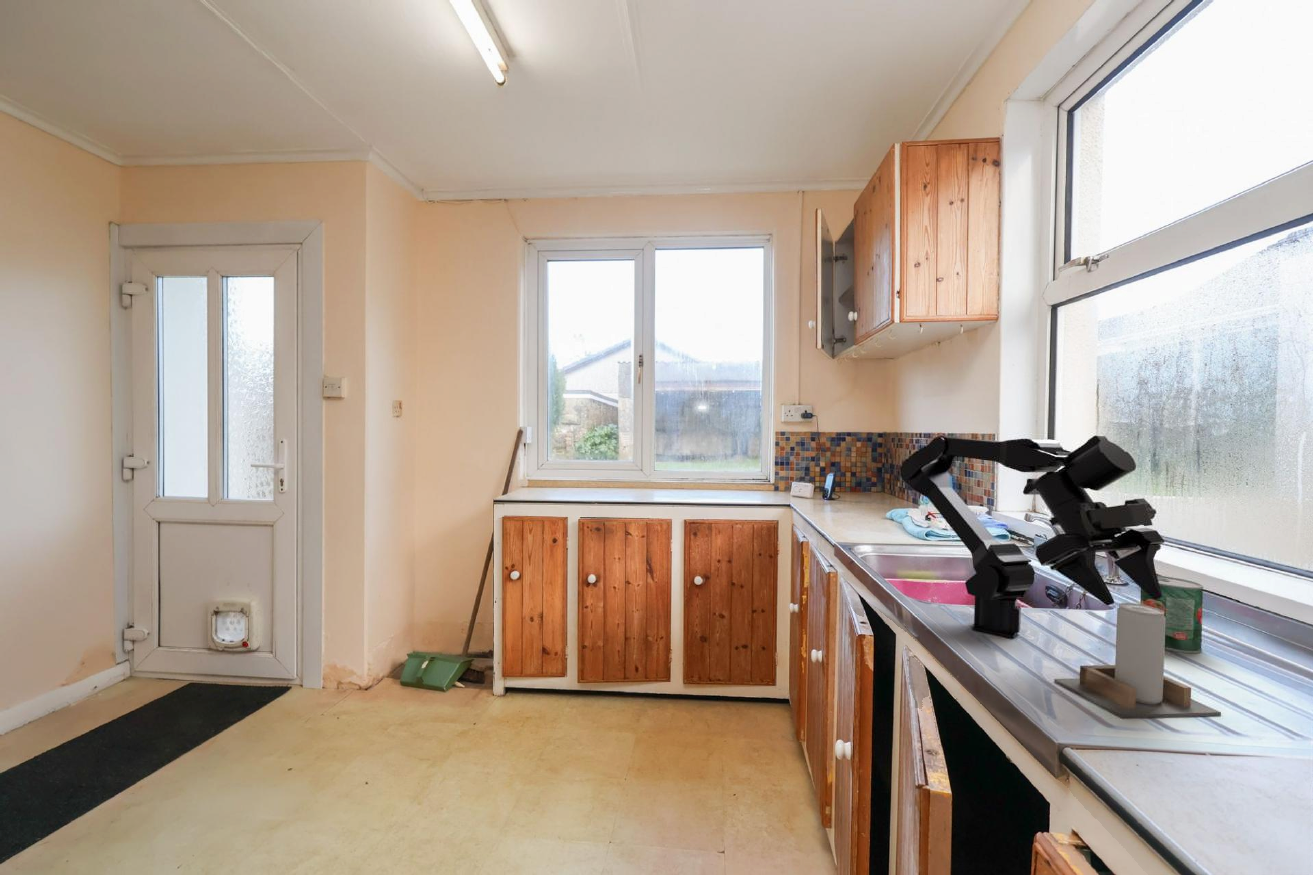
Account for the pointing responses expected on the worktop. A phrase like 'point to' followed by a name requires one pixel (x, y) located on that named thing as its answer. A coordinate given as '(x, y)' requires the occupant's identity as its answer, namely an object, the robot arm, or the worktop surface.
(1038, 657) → the worktop surface
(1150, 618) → the beverage can
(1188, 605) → the canned tomato
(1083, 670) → the keeper
